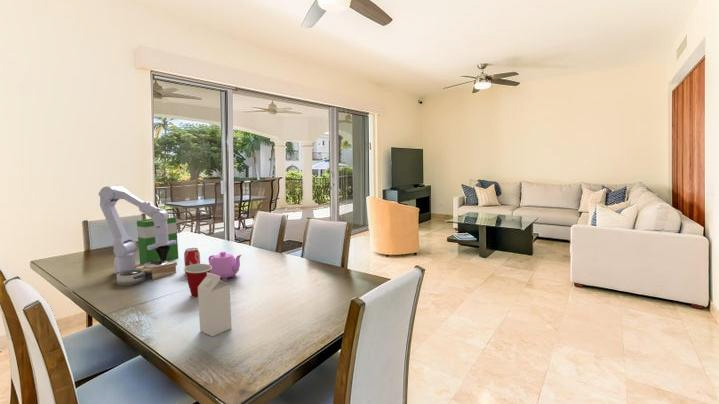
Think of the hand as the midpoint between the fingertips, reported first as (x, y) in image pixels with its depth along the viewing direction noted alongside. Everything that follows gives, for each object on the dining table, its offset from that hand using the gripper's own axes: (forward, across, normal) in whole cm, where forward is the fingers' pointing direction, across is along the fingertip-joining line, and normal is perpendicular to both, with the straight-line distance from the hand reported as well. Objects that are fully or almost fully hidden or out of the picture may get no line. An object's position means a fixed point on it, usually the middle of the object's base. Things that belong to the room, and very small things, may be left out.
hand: (163, 260), depth 177 cm
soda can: (+6, +6, -14) cm, 16 cm away
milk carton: (+6, -35, -73) cm, 81 cm away
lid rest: (+6, -4, 0) cm, 7 cm away
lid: (+1, -4, 0) cm, 4 cm away
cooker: (+6, -16, 0) cm, 17 cm away
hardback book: (+6, +13, +21) cm, 25 cm away
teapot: (+6, +6, -35) cm, 36 cm away
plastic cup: (+6, -14, -42) cm, 45 cm away
